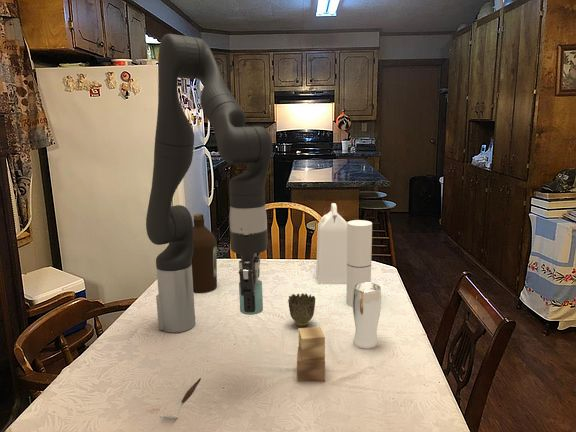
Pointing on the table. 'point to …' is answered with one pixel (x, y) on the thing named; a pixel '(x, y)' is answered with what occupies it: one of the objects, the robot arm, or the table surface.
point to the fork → (183, 400)
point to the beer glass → (366, 314)
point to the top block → (311, 343)
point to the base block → (310, 369)
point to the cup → (301, 308)
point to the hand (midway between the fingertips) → (251, 305)
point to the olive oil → (203, 257)
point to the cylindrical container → (358, 255)
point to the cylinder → (257, 299)
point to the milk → (332, 248)
